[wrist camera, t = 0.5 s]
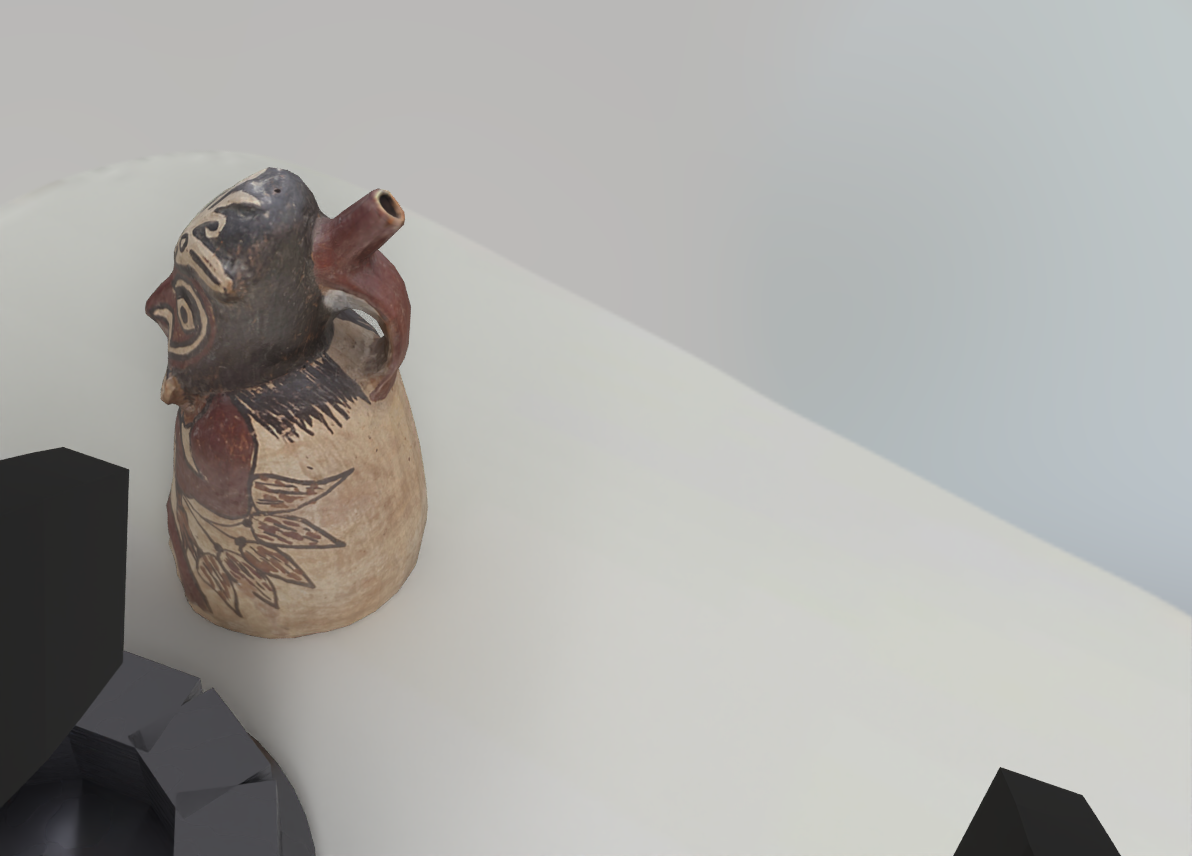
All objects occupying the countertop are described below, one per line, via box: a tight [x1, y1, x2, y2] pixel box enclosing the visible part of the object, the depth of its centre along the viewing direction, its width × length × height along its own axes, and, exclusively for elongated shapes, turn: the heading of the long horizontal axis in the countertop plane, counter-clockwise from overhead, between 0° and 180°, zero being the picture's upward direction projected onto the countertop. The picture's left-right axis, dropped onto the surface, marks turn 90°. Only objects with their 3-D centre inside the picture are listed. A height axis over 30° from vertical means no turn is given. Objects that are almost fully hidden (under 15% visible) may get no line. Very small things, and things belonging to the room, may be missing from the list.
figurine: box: [145, 167, 428, 639], centre depth 28 cm, size 7×7×12 cm
